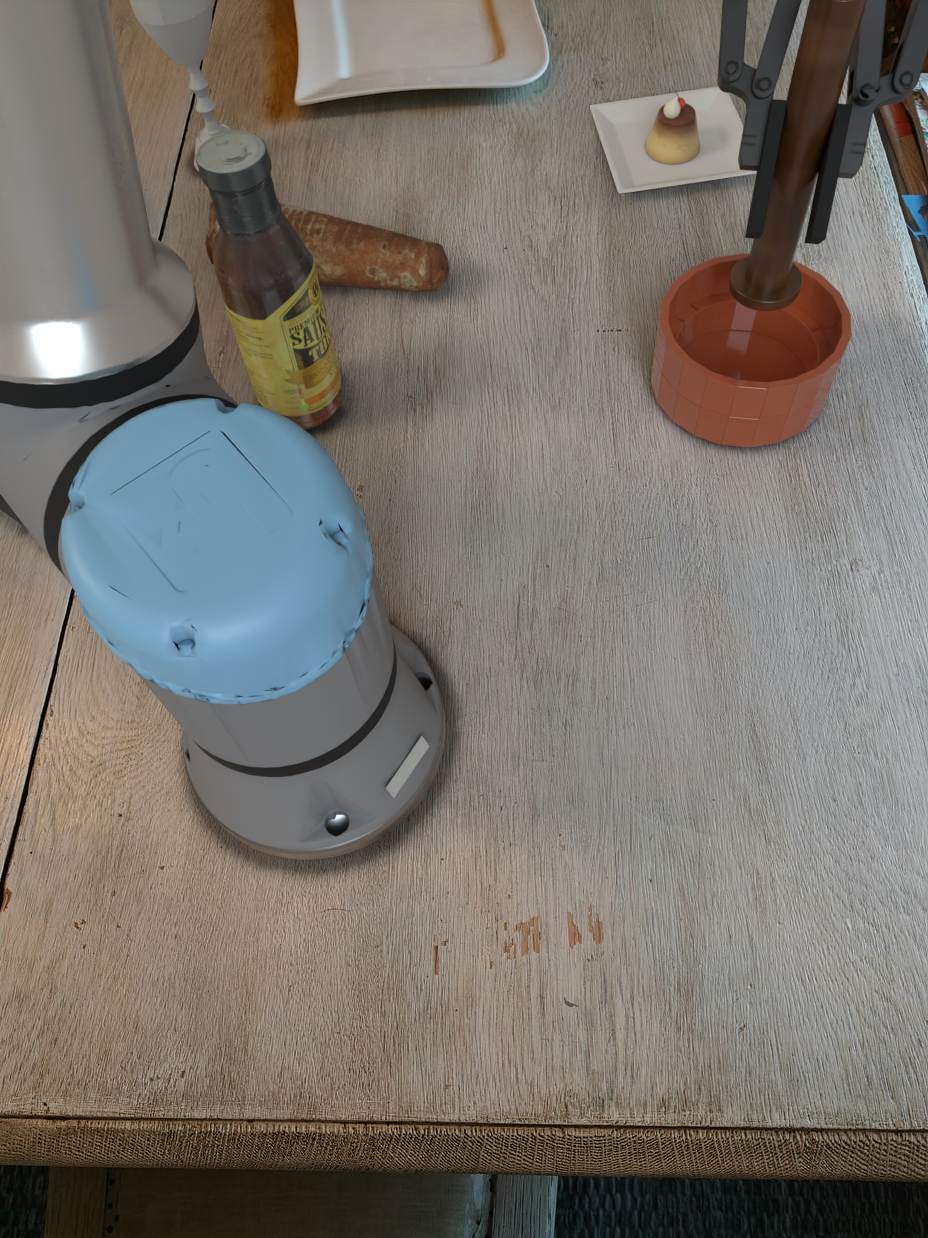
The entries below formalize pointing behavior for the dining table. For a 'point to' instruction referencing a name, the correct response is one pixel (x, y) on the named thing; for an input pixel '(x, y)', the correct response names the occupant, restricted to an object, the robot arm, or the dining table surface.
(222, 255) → the sauce bottle
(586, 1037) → the dining table surface
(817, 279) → the bowl
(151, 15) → the chalice
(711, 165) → the dessert
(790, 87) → the wooden peg on base
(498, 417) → the dining table surface
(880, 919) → the dining table surface
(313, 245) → the bread
